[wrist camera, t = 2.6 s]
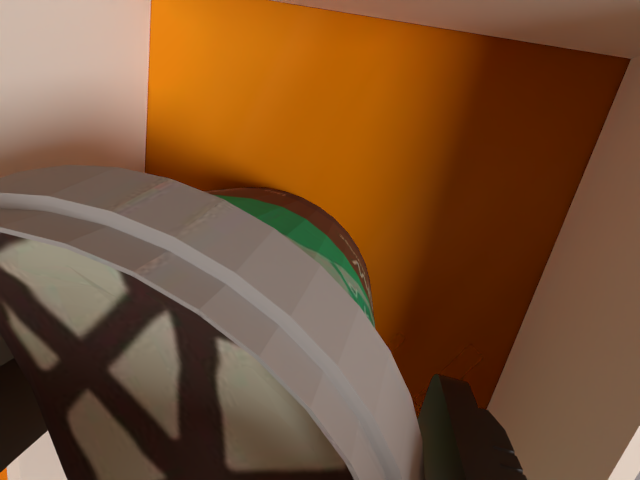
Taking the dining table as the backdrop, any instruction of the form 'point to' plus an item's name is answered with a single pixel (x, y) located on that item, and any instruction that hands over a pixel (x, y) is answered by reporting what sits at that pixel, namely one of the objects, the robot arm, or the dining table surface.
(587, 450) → the carton
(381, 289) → the dining table surface
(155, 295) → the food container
